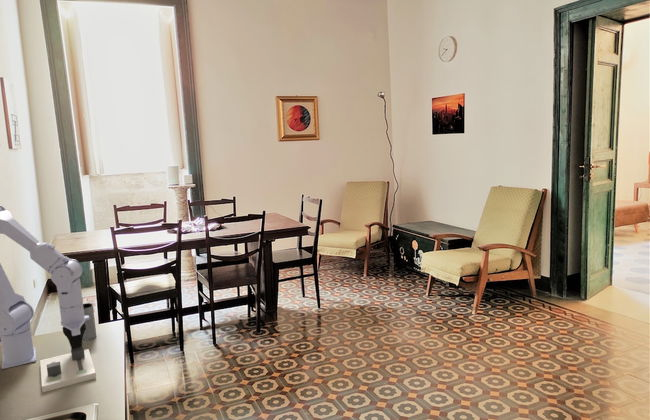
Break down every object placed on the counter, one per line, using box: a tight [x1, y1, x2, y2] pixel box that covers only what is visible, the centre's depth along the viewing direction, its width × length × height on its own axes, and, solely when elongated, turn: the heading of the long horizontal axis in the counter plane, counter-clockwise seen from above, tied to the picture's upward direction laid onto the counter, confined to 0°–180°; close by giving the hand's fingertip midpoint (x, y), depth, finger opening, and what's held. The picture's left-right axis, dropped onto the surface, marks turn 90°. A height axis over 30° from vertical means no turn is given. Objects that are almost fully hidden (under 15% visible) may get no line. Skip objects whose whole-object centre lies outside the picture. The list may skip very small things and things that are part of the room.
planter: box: [82, 302, 97, 342], centre depth 148 cm, size 4×4×10 cm
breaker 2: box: [70, 346, 85, 360], centre depth 132 cm, size 2×3×2 cm, turn 121°
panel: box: [39, 348, 97, 393], centre depth 128 cm, size 16×12×2 cm
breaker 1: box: [47, 362, 61, 377], centre depth 124 cm, size 2×3×2 cm, turn 121°
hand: (76, 350), depth 135 cm, fingers closed
